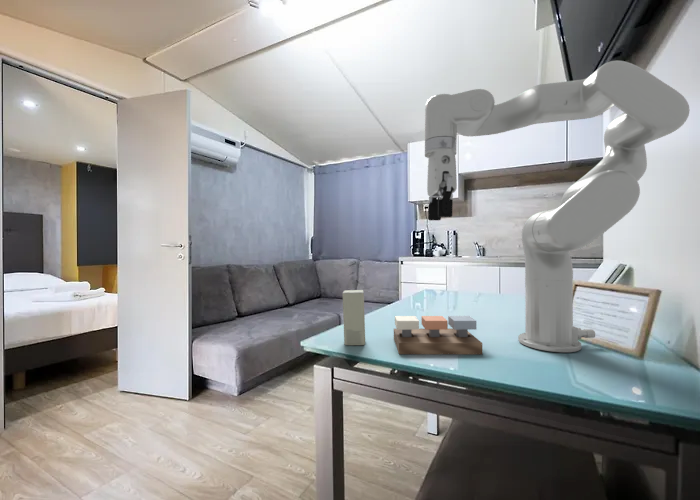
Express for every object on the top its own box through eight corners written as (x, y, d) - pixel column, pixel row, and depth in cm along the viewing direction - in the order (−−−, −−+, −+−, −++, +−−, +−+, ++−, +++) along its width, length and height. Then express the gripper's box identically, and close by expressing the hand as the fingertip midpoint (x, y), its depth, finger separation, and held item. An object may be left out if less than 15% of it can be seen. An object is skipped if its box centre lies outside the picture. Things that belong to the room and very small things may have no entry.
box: (365, 340, 79) (365, 289, 79) (364, 346, 75) (364, 292, 75) (344, 340, 80) (344, 289, 80) (342, 345, 76) (342, 292, 75)
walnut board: (464, 338, 80) (464, 328, 80) (482, 354, 68) (482, 342, 68) (393, 338, 81) (393, 328, 81) (399, 354, 69) (398, 342, 69)
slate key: (469, 334, 77) (469, 315, 77) (476, 340, 72) (476, 320, 72) (448, 334, 77) (448, 315, 77) (454, 340, 72) (454, 320, 72)
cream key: (415, 334, 77) (415, 316, 77) (419, 340, 72) (418, 320, 72) (395, 334, 78) (394, 316, 78) (397, 340, 73) (397, 320, 72)
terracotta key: (442, 334, 77) (442, 315, 77) (447, 340, 72) (447, 320, 72) (421, 334, 77) (421, 316, 77) (425, 340, 72) (425, 320, 72)
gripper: (468, 137, 69) (467, 215, 69) (445, 158, 86) (444, 221, 86) (433, 136, 69) (432, 215, 69) (418, 158, 86) (417, 221, 86)
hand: (439, 218), depth 78 cm, fingers open, 9 cm apart
